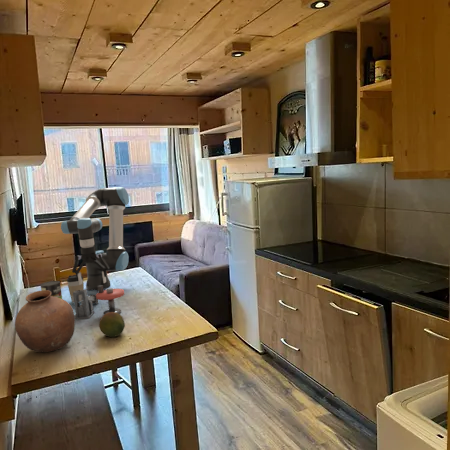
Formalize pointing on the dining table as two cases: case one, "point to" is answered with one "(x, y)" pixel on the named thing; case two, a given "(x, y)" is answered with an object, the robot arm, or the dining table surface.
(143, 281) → the dining table surface
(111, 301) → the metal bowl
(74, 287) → the coffee cup
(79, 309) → the grey block assembly
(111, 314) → the fruit
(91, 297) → the hook rod
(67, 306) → the pottery
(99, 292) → the pot lid
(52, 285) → the coffee can
